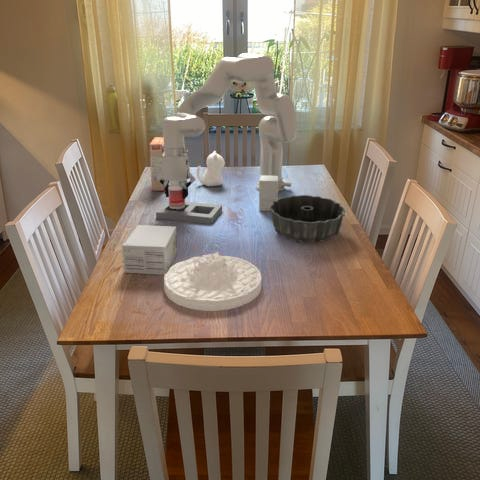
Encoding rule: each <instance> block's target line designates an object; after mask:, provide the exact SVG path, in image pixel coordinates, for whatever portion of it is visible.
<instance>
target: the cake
mask: <svg viewBox="0 0 480 480" xmlns="http://www.w3.org/2000/svg"><path fill="white" fill-rule="evenodd" d="M219 253H220V252H219V251H216V252H213V253H208V254H203V255H201V256H193V257H190V258H188V259H186V260H183V261H180V262H179V261H178V262H176V263H174V264H173V265H172V266H170V267H169V269H168V271H167V273H166V274H165V275H163V290H164V294H165V295H166V297H167V298H168V299H169V300H170V301H171V302H173V303H174V304H175V305H178V306H181V307H184V308H187V309H190V310H195V311H201V312H203V311H205V312H217V311H226V310H232V309H235V308H236V309H237V308H239V307H240V308H241V307H242V306H244V305H246V304H249V303H251V302H252V301H254V300H255V299H256V298H257V297H258V296H259V294H260V293H261V290H262V274H261V273H262V272H261V271H260V270H259V268H258V267H257V266H256V265H254V264H253V263H251V262H250V261H247V260H245V259H243V258H240V257H236V256H229V255H220V254H219Z"/></svg>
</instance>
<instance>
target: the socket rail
mask: <svg viewBox="0 0 480 480" xmlns="http://www.w3.org/2000/svg"><path fill="white" fill-rule="evenodd" d="M222 212H223V204H214V203H201V202H191V201H185V207H184V208H182V209H176V210H172V209H171V208H170V207H169V200H168V201H166V203H165V204H163V205H162V206H161V207H160V208H159V209H157V211H156V212H155V218H156V219H157V218H158V219H159V220H160V219H161V220H169V221H178V222H187V223H188V222H189V223H199V224H206V225H207V224H209V225H213V223H214V222H215V220H216V219H217V218H218V217H219V216H220V215H221V214H222Z"/></svg>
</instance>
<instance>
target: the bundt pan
mask: <svg viewBox="0 0 480 480" xmlns="http://www.w3.org/2000/svg"><path fill="white" fill-rule="evenodd" d="M270 210H271V211H270V213H271V221H272V226H273V228H274V230H275V232H276V233H277V234H278V235H279V236H281V237H283V238H285V239H287V240H290V241H291V240H293V241H294V242H295V243H299V242H303V243H304V244H305V243H306V244H309V243H310V244H311V243H313V242H314V243H318V244H319V243H321V242H322V241H328V240H331V238H333V237H335V236H336V235H337V234H338V233H339V232H340V230H341V226H342V222H343V219H344V217H345V215H346V214H345V213H346V208H345V207H344V206H343V205H342V203H340V202H336V200H334V199H331V198H327V197H323V196H319V195H317V196H315V195H313V196H312V195H308V194H307V195H306V194H304V195H303V194H301V195H289V196H283V197H278V200H277V201H273V202H272V205H270Z"/></svg>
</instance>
